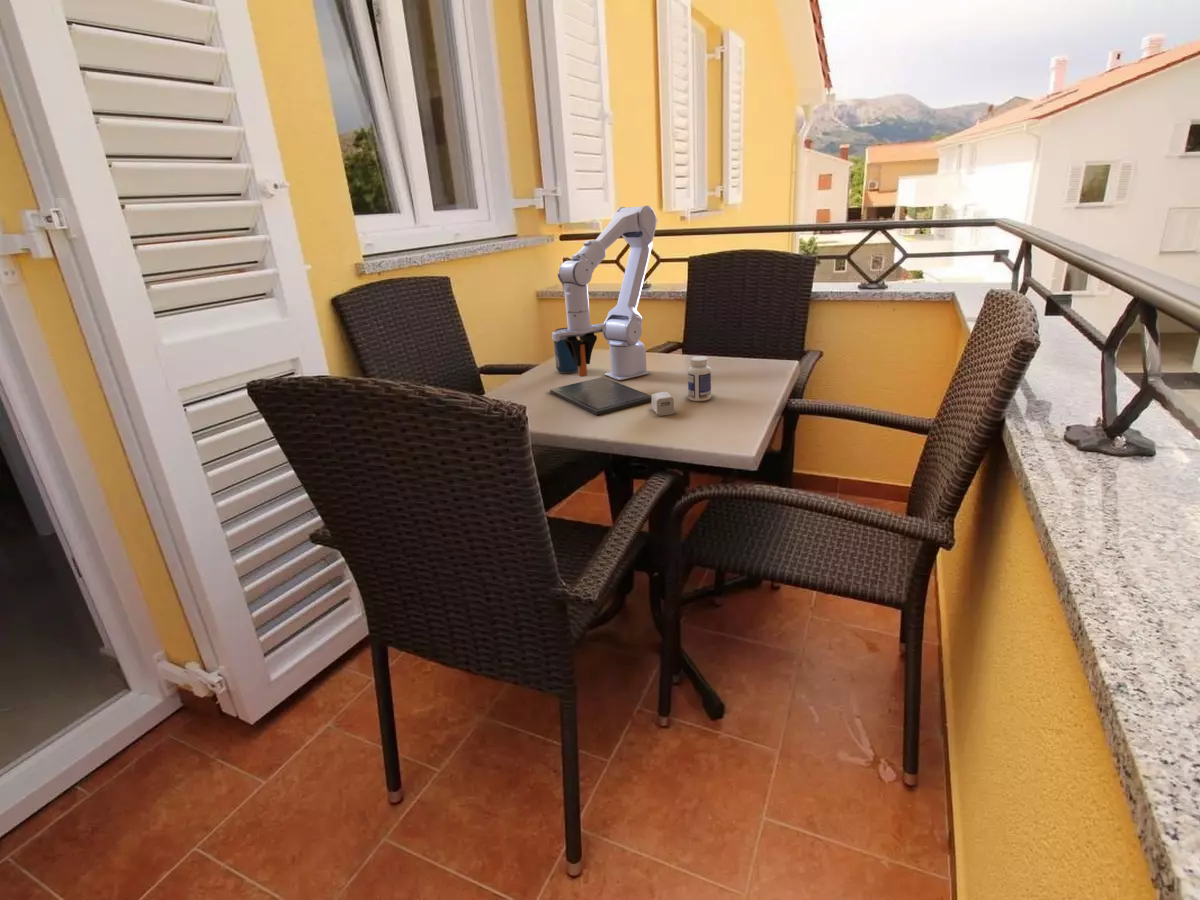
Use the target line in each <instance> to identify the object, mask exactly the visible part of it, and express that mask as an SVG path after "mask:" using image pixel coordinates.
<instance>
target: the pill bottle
mask: <svg viewBox="0 0 1200 900" xmlns="http://www.w3.org/2000/svg"><path fill="white" fill-rule="evenodd" d="M708 365H709V358H708V357H707V356H704V355H703V356H701V355H699V356H692V357H690V366H689V368H688V369H687V393H688V399H689V400H690V401H694V402H704V401H708V400H710V399H711V398H712V368H711V367H710V366H708Z"/></svg>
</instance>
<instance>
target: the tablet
mask: <svg viewBox="0 0 1200 900" xmlns="http://www.w3.org/2000/svg"><path fill="white" fill-rule="evenodd" d="M549 393H550V394H552V395H554V396H556V397H558V398H560V399H562V400H564V401H566V402H568V403H570V404H572V405H574V406H576V407H579V408H580V409H583V410H585V411H587V412H589V413H591V414H592V415H595V416H600V415H605V414H609V413H612V412H617V411H619V410H620V411H621V410H623V409H628V408H632V407H635V406H639V405H643V404H645V403H650V402H651V403H652V401H651V396H652V394H648V393H646V392H643V391H640V390H638V389H634V388H633V387H630V386H627V385H625V384H622V383H619V382H617V381H614V380H612V379H609V378H606V377H603V376H602V377H597V378H593V379H587V380H584V381H580V382H575V383H571V384H567V385H563V386H558V387H553V388H550V389H549Z"/></svg>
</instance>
